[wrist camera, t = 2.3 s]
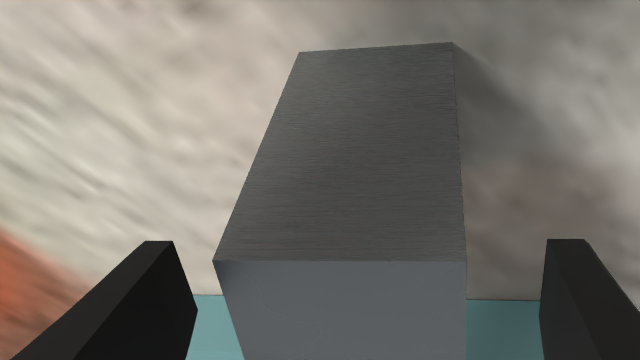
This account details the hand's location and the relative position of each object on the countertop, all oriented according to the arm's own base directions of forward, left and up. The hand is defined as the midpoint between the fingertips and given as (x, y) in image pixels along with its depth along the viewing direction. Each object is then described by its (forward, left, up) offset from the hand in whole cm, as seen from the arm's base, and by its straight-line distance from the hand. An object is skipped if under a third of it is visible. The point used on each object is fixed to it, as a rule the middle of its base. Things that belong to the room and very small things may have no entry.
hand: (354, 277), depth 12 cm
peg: (0, 0, -6) cm, 6 cm away
